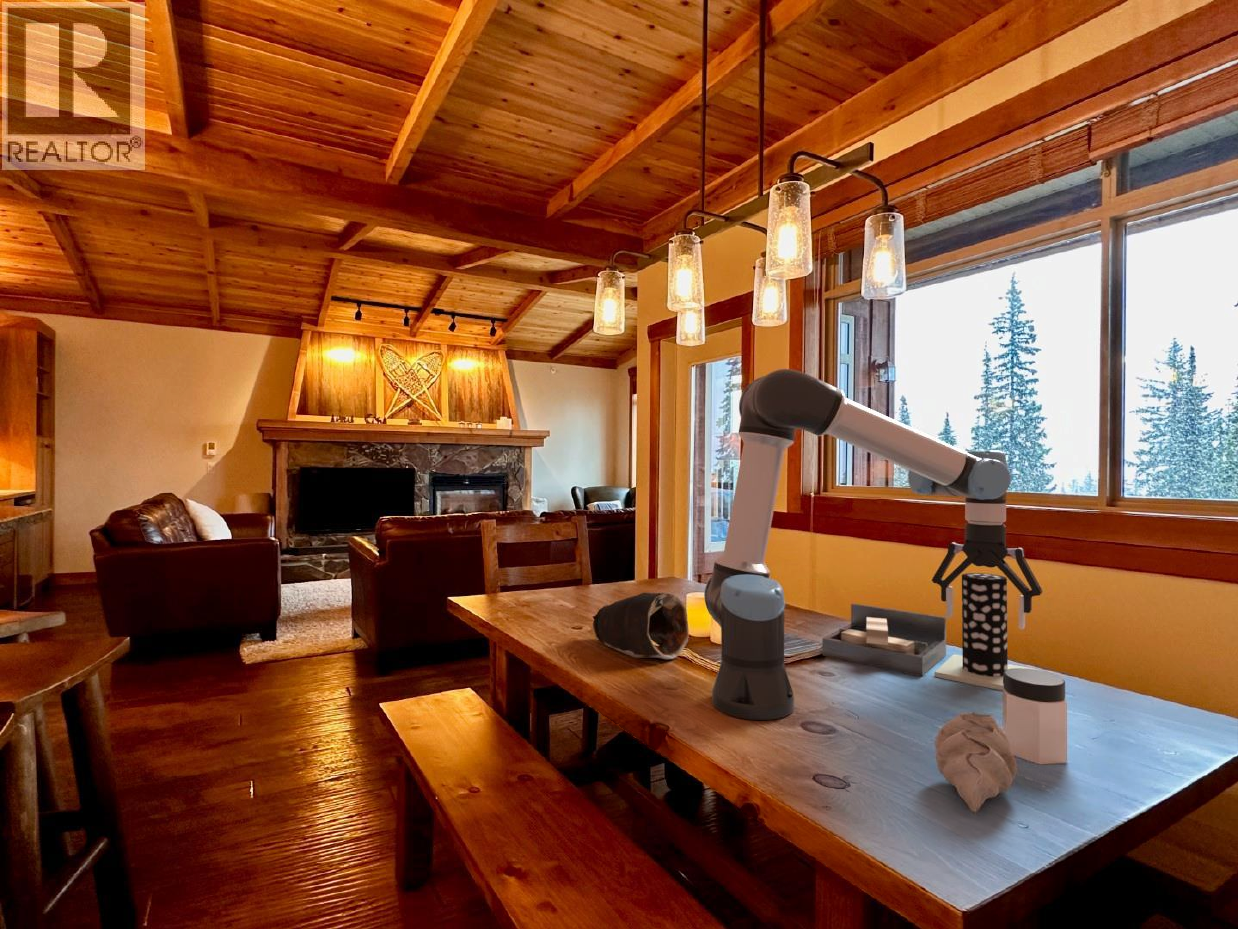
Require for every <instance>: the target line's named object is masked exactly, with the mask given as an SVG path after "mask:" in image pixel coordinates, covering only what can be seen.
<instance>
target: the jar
mask: <svg viewBox="0 0 1238 929" xmlns="http://www.w3.org/2000/svg"><path fill="white" fill-rule="evenodd" d="M1034 669H1035V668H1033V669H1026V668H1012V669H1007V670H1005V671H1004V673H1003V691H1002V730H1003V731H1004V732H1005V733H1006V736H1007V739H1008V741H1009V743H1010V747H1011V751H1012V753H1013V755H1014V757H1016V758H1019V759H1022V760H1024V761H1027V762H1031V763H1032V764H1033V763H1034V764H1036V765H1052V764H1053V765H1055V764H1067V763H1068V702H1067V701H1066V680H1064V678H1062V677H1061V676H1058V675H1056V674H1054V673H1052V672H1048V671H1044V670H1040V669H1039V670H1038V669H1036V670H1034Z"/></svg>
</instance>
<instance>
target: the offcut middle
mask: <svg viewBox="0 0 1238 929" xmlns="http://www.w3.org/2000/svg"><path fill="white" fill-rule="evenodd" d="M841 641H846V642H852V643H857V644H862V645H867V646H873V647H878V648H883V649H889V650H894V651H899V652H905V653H910V654H914V642H913V641H908V640H903V639H898V638H893V637H888V645H883V644H873V643H866V632H863V631H858V630H853V629H849V630H846V631H844V632H841Z"/></svg>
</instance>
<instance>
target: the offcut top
mask: <svg viewBox="0 0 1238 929" xmlns="http://www.w3.org/2000/svg"><path fill="white" fill-rule="evenodd" d="M866 643H873V644H883V645H888V627H887V619H884V618H872V617H867V627H866Z"/></svg>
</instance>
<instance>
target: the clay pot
mask: <svg viewBox="0 0 1238 929" xmlns="http://www.w3.org/2000/svg"><path fill="white" fill-rule="evenodd" d="M591 617H592V619H593V622H592V627H593V631H594V635H595V638H596V639H597V640H598V641H600V642H601V643H602V644H604V645H605V646H606V647H610V648H612V649H614V650H616V651H617V652H621V653H623V654H624V655H626V656H627V655H628V656H630V657H632V658H636V659H640V658H642V659H643V658H644V659H645V658H647V659H649V658H651V659H652V658H655V659H656V658H658V659H663V660H673V659H676V658H678V656H679V654H681V653H682V651H683V650H684V648H686V645H687V643H688V642H689V635H690V634H689V631H690V630H689V621H688V613H687V608H686V606H685V605H684V603H683V601H682V600H681V599H680V598H679V597H678V596H675V594H673V593H669V592H668V593H667V592H657V593H655V592H654V593H651V592H641V593H640V594H637V595H633V596H628V597H626V598H624V599H620V600H617V601H614V602H613V603H611V604H609V605H604V606H603V607H601V608H600V609H599V610H598V611H597V613H596V614H595V615H593V616H591ZM654 643H655V644H656V645H657V646H658V648H657V647H656V646H655V645H654Z"/></svg>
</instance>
